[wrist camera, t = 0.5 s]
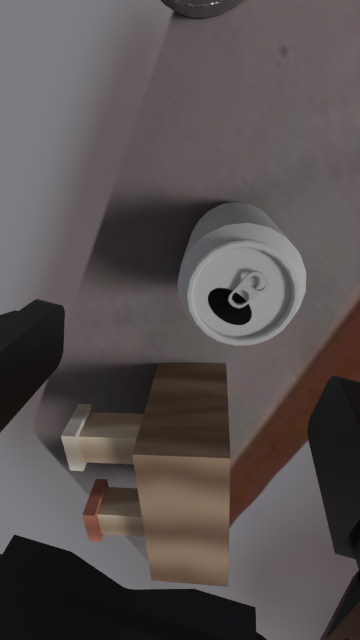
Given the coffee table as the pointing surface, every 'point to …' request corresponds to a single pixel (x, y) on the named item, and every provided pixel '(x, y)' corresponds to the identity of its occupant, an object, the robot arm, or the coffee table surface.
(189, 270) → the can
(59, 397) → the coffee table surface
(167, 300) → the coffee table surface
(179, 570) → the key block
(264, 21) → the coffee table surface
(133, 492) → the key red
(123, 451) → the key cream
